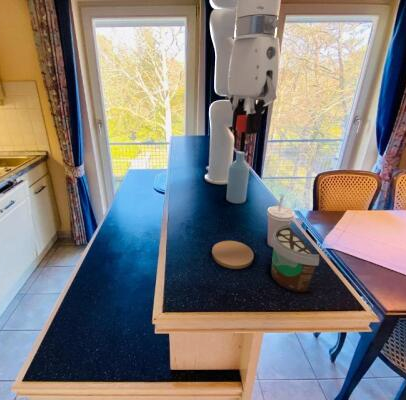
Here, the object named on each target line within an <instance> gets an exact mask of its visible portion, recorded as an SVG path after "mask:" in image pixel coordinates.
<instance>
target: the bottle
mask: <svg viewBox="0 0 406 400" xmlns="http://www.w3.org/2000/svg"><path fill="white" fill-rule="evenodd" d="M249 176H250V166H249V164H248V163H247V161H245V151H236V153H235V160H233V162H232V164H230V166H229V172H228V184H226V185H227V186H226V199H225V200H226V201H227V202H228V203H232V204H243V203H245V202H246V200H247V193H248V186H249V185H248V184H249Z"/></svg>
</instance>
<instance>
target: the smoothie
mask: <svg viewBox="0 0 406 400" xmlns="http://www.w3.org/2000/svg"><path fill="white" fill-rule="evenodd" d="M283 199H284V195H283V194H282V195H280V197H279V204H278V205H272V206H270V207H268V208H267V211H266V214H267V245H268V246H269V247H271V248H273V247H272V244H271V238H272V236H273V234H274V232H275V231H276V230H277V228H279V227H280V226H283V225H287V224H291V223H292V221H293V220H294V219H295V212H294V211H293V210H292V208H289V207H287V206H286V207H285V206H282V205H283ZM291 225H292V224H291Z"/></svg>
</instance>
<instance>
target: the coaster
mask: <svg viewBox="0 0 406 400" xmlns="http://www.w3.org/2000/svg"><path fill="white" fill-rule="evenodd" d="M254 256H255V254H254V252H253V250H252V249H251V248H250V246H248V245H246V244H245V243H242V242H239V241H236V240H222V241H219V242H217V243H215V244H214V245H213V247H212V249H211V257H212V259H213V260H214V262H215V263H216V264H218V265H220V266H222V267H224V268H227V269H232V270H233V269H234V270H239V269H245V268H247V267H249V266H251V265H252V264H253V261H254V258H255V257H254Z"/></svg>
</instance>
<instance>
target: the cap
mask: <svg viewBox="0 0 406 400" xmlns="http://www.w3.org/2000/svg"><path fill="white" fill-rule="evenodd" d="M246 123H247V115H238V116H237V122H236V130H235V132H241V133H246Z"/></svg>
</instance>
